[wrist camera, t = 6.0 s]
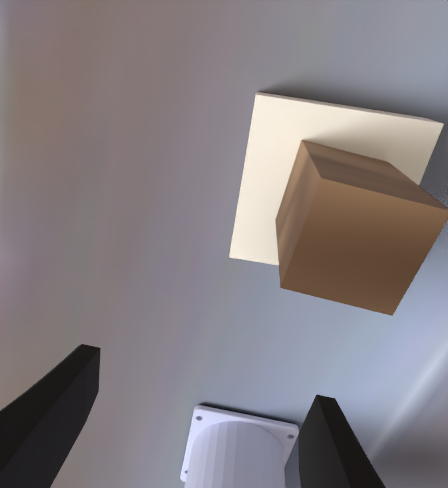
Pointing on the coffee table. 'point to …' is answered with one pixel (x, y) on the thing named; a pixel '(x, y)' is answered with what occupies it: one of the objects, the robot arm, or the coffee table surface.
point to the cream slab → (320, 132)
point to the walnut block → (353, 228)
